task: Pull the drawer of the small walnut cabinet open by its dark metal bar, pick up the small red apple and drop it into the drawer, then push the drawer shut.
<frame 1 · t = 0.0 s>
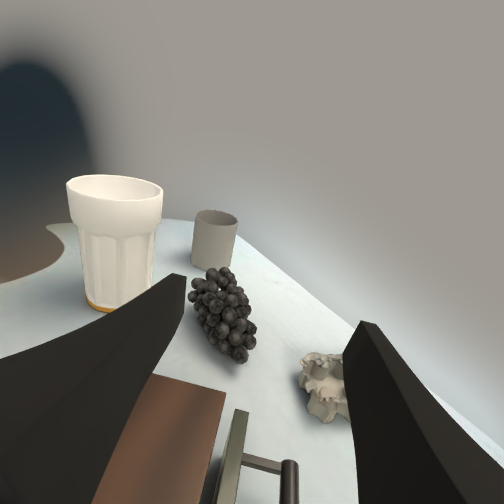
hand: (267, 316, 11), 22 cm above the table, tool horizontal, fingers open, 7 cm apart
cup: (210, 262, 58), on the table
drawer: (171, 493, 19), point 4 cm above the table, slide at 1.0 cm
cup 2: (120, 295, 43), on the table
fruit: (219, 335, 40), on the table
egg carton: (338, 395, 35), on the table
cabinet: (106, 501, 21), on the table
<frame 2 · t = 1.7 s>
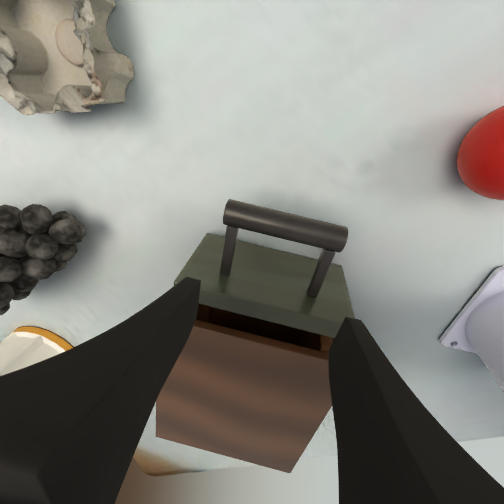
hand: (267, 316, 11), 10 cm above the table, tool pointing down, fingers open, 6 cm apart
drawer: (257, 319, 20), point 4 cm above the table, slide at 1.0 cm
cup 2: (48, 351, 34), on the table
fruit: (43, 239, 25), on the table
egg carton: (63, 9, 16), on the table
cabinet: (252, 326, 26), on the table
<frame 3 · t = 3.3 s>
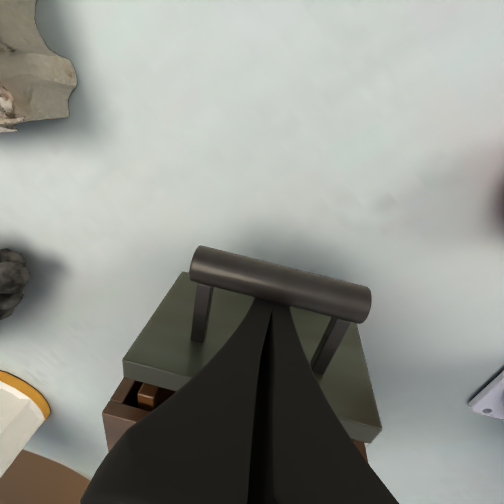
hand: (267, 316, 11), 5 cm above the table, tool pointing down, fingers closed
drawer: (245, 384, 15), point 4 cm above the table, slide at 1.6 cm
cup 2: (11, 393, 29), on the table
cabinet: (241, 379, 22), on the table
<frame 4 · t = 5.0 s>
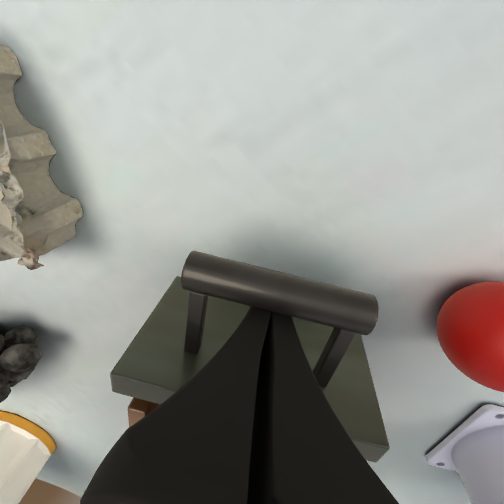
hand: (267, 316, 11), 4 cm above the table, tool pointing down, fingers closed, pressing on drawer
drawer: (243, 394, 15), point 4 cm above the table, slide at 8.1 cm, touching gripper
cup 2: (20, 430, 32), on the table
apple: (500, 334, 12), point 2 cm above the table
fruit: (3, 340, 23), on the table
egg carton: (1, 149, 14), on the table
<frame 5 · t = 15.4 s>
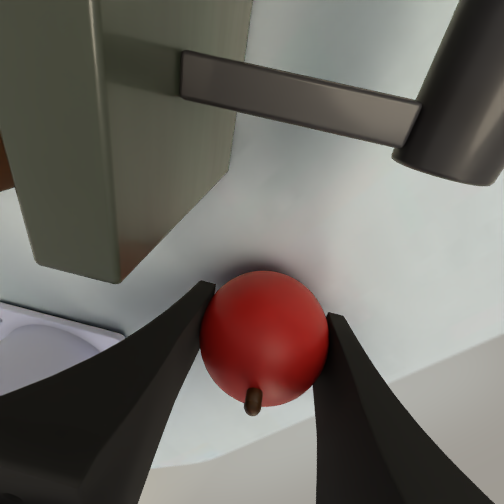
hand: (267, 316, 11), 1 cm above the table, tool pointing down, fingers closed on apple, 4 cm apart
apple: (263, 333, 10), point 2 cm above the table, touching gripper
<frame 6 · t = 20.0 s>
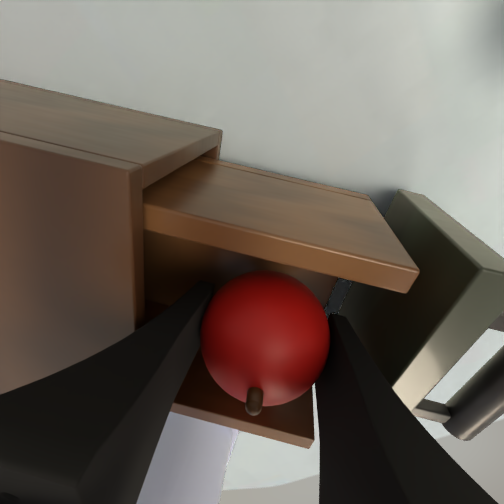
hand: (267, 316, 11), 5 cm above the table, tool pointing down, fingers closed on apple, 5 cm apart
drawer: (294, 308, 12), point 4 cm above the table, slide at 8.1 cm
apple: (264, 333, 10), point 6 cm above the table, touching gripper
cabinet: (91, 210, 16), on the table
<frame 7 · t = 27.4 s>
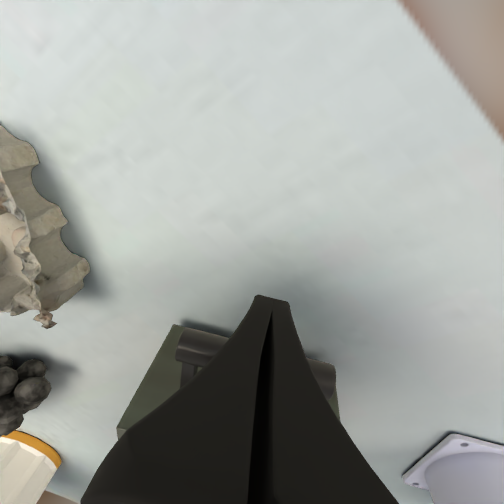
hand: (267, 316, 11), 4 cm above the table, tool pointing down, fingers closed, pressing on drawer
drawer: (231, 430, 17), point 4 cm above the table, slide at 8.1 cm, touching apple, gripper
cup 2: (28, 446, 34), on the table
fruit: (15, 369, 25), on the table
egg carton: (19, 216, 16), on the table
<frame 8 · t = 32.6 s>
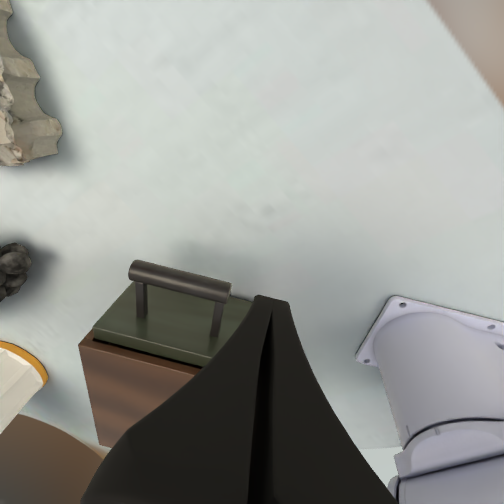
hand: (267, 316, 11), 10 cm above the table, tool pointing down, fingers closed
drawer: (181, 349, 23), point 4 cm above the table, slide at -0.1 cm, touching apple, cabinet
cup 2: (16, 363, 36), on the table
fruit: (1, 264, 27), on the table
cabinet: (193, 343, 28), on the table
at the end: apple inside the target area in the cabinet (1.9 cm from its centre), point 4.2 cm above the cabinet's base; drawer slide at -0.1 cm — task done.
